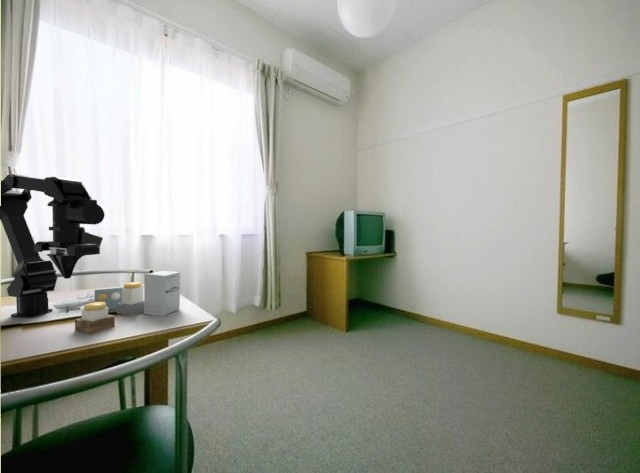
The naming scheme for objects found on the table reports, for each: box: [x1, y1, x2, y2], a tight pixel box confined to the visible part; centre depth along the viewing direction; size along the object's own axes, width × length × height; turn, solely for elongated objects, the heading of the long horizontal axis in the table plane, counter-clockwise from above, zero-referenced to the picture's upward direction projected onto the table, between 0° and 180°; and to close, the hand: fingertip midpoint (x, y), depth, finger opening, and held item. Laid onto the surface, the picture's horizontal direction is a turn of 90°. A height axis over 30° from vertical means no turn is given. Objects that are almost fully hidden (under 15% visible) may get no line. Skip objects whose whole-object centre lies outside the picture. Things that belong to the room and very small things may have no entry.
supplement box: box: [143, 270, 181, 317], centre depth 90 cm, size 7×7×13 cm
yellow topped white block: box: [121, 281, 144, 305], centre depth 89 cm, size 5×5×6 cm
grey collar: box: [116, 299, 144, 317], centre depth 89 cm, size 6×6×3 cm
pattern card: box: [94, 286, 123, 312], centre depth 90 cm, size 2×7×7 cm, turn 126°
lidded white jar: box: [81, 301, 109, 322], centre depth 75 cm, size 5×5×6 cm
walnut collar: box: [74, 314, 116, 336], centre depth 75 cm, size 6×6×3 cm
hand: (67, 278), depth 80 cm, fingers closed
